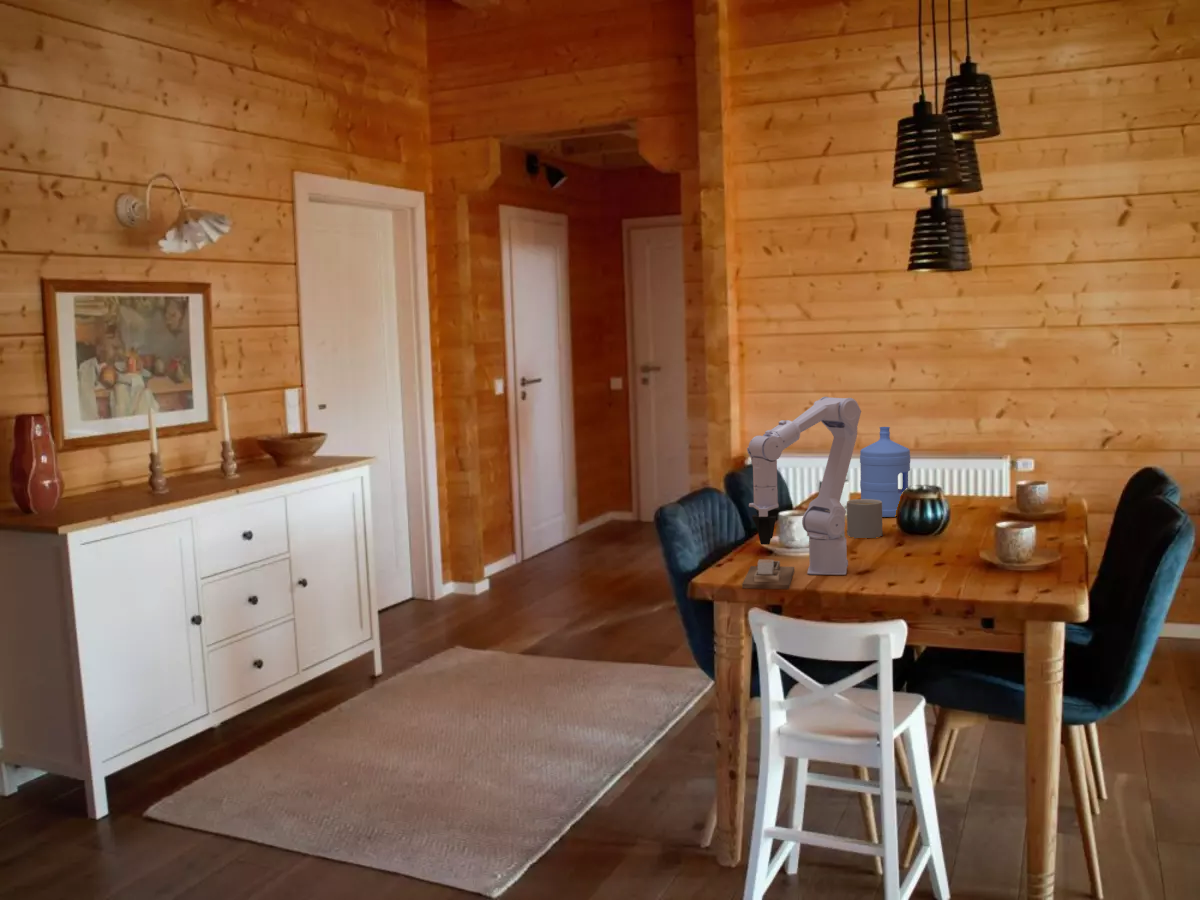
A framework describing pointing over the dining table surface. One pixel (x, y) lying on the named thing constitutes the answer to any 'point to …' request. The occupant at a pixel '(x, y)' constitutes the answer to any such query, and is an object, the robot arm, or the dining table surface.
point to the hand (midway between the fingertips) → (766, 541)
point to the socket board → (769, 578)
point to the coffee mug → (864, 518)
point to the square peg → (765, 567)
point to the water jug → (884, 472)
